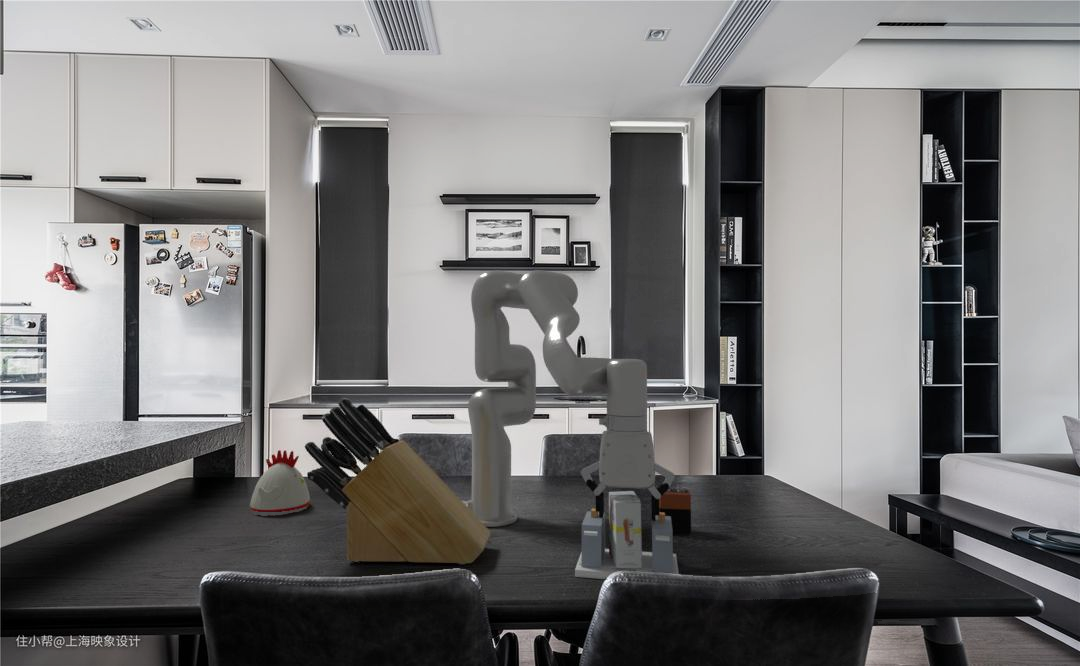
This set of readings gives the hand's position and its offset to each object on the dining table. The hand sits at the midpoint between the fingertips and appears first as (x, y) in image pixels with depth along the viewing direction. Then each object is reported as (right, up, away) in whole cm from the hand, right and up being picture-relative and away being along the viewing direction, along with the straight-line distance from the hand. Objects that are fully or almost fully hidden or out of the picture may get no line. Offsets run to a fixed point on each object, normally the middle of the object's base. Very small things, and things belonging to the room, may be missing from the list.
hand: (627, 517), depth 100 cm
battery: (+14, -11, +21) cm, 27 cm away
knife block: (-44, -10, +6) cm, 46 cm away
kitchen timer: (-83, -11, +39) cm, 93 cm away
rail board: (0, -9, -1) cm, 9 cm away
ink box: (-1, -8, 0) cm, 8 cm away
